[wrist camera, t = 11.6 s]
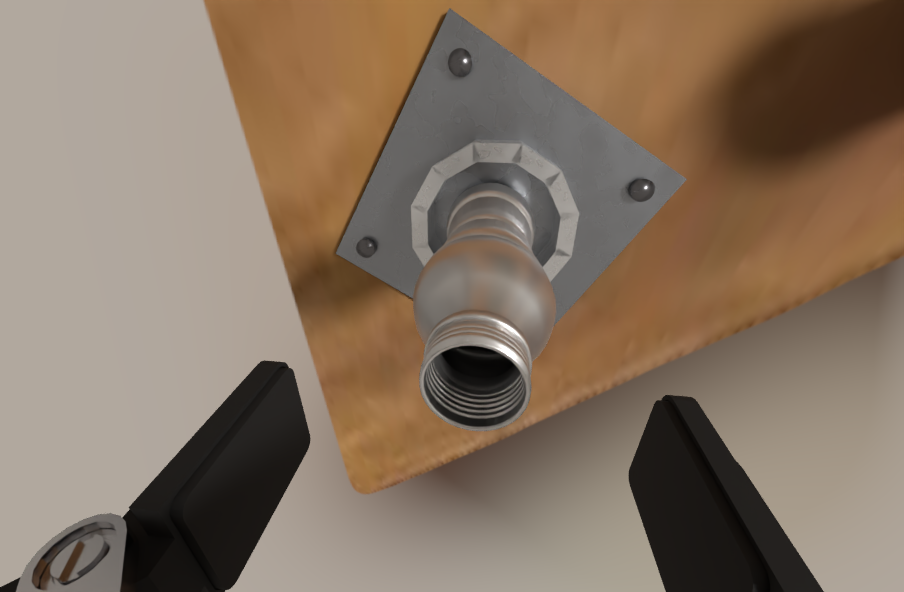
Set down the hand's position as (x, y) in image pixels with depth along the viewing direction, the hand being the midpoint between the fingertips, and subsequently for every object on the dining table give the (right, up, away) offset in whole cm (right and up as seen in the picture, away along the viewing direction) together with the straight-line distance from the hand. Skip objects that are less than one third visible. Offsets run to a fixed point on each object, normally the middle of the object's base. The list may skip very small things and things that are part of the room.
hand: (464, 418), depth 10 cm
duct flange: (+3, +10, +20) cm, 22 cm away
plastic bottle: (+3, +9, +20) cm, 22 cm away
